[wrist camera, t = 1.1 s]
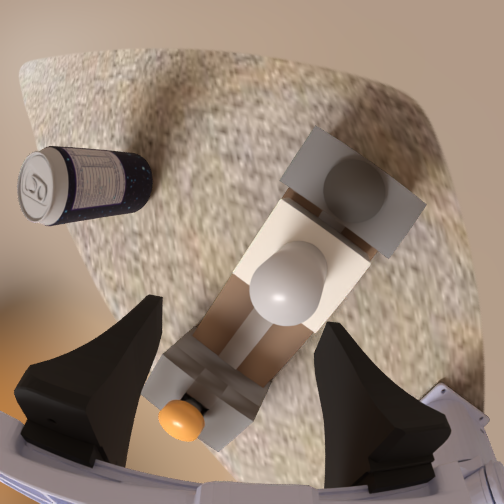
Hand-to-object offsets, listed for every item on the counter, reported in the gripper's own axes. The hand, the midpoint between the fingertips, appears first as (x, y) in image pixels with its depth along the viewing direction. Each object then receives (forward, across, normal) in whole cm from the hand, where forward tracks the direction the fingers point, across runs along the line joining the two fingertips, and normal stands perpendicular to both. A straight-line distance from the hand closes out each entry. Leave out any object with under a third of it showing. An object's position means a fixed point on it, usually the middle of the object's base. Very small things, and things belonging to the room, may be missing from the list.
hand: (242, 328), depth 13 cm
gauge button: (+6, +2, +14) cm, 16 cm away
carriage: (+10, -4, +1) cm, 11 cm away
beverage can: (+18, +11, 0) cm, 21 cm away
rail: (+12, -4, +5) cm, 13 cm away
